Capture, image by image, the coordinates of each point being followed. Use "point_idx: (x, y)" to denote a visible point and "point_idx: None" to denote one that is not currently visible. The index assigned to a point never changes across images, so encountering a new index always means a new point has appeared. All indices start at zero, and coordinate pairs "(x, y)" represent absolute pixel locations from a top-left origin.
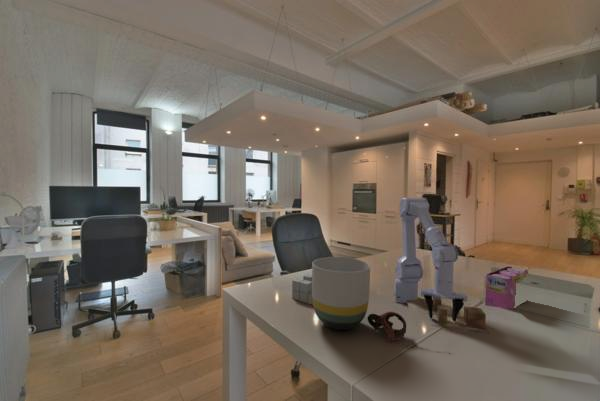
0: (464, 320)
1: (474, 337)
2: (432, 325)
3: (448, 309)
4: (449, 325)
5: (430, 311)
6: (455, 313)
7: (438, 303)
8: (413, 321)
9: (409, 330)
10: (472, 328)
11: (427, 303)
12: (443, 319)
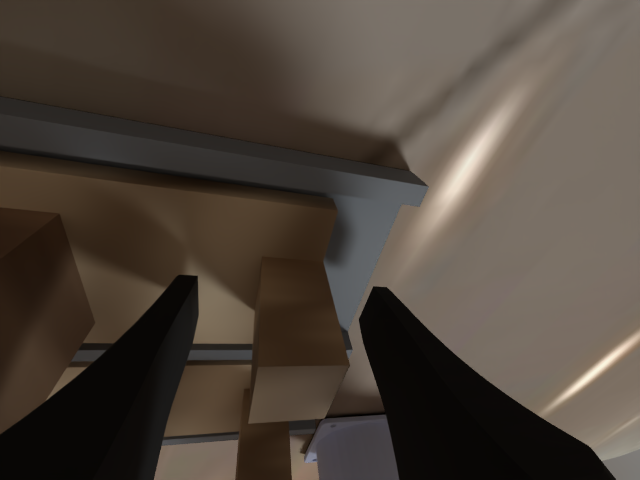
0: (82, 313)
1: (15, 68)
2: (419, 189)
3: (185, 417)
4: (254, 215)
5: (423, 330)
6: (153, 338)
7: (260, 449)
8: (460, 268)
9: (589, 136)
10: (3, 191)
11: (534, 416)
12: (292, 276)
